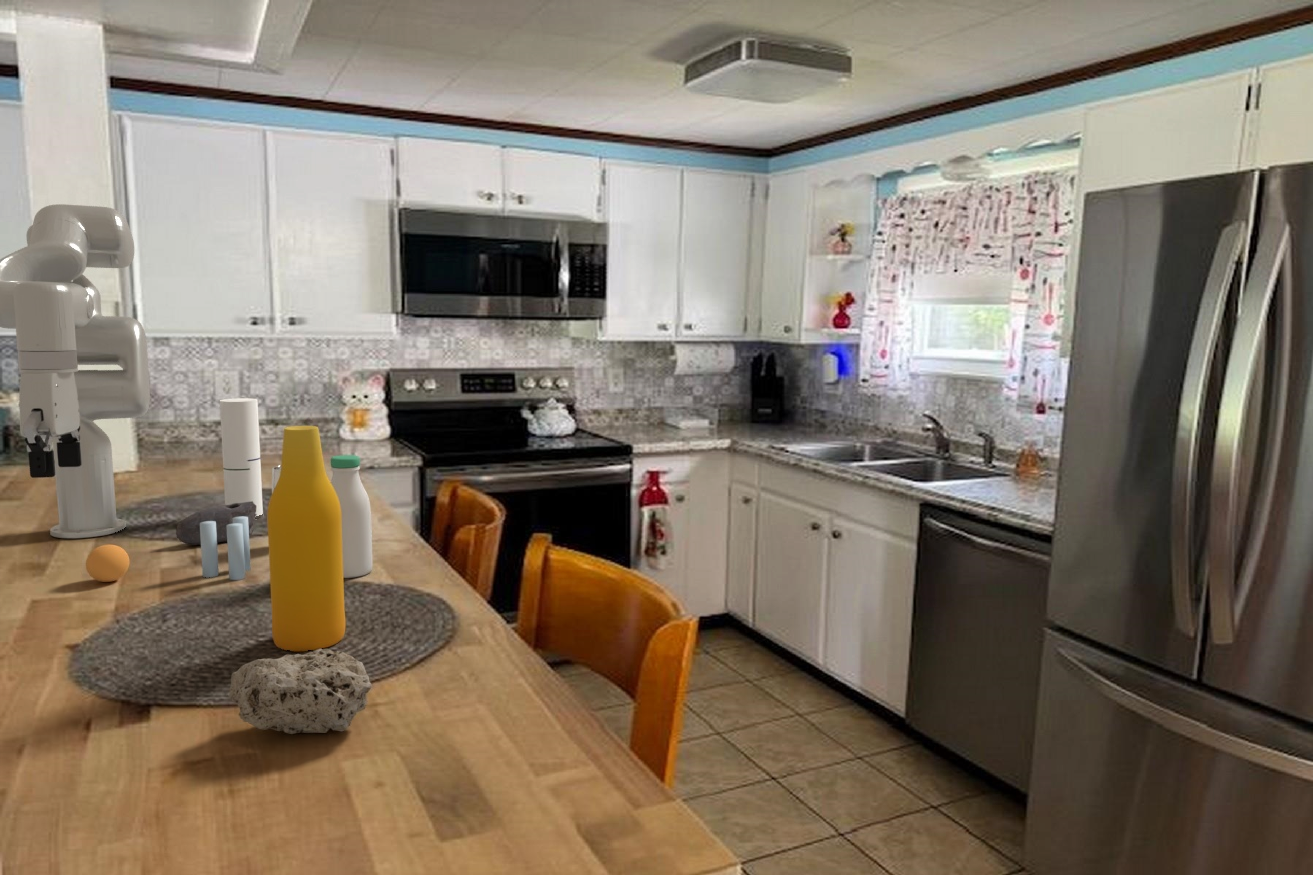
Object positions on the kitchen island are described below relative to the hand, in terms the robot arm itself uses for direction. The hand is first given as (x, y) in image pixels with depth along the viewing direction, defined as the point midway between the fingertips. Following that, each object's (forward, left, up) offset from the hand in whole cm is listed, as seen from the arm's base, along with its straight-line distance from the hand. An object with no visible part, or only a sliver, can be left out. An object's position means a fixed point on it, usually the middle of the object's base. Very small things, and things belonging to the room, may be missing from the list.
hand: (57, 471), depth 139 cm
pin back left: (+2, +26, -18) cm, 31 cm away
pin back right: (-3, +26, -18) cm, 32 cm away
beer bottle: (+34, +40, -19) cm, 56 cm away
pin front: (0, +21, -18) cm, 28 cm away
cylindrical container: (-43, +19, -18) cm, 51 cm away
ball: (0, +6, -15) cm, 16 cm away
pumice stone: (+60, +42, -19) cm, 76 cm away
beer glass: (-17, +32, -19) cm, 41 cm away
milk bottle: (+3, +43, -19) cm, 47 cm away
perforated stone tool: (-23, +18, -19) cm, 35 cm away
